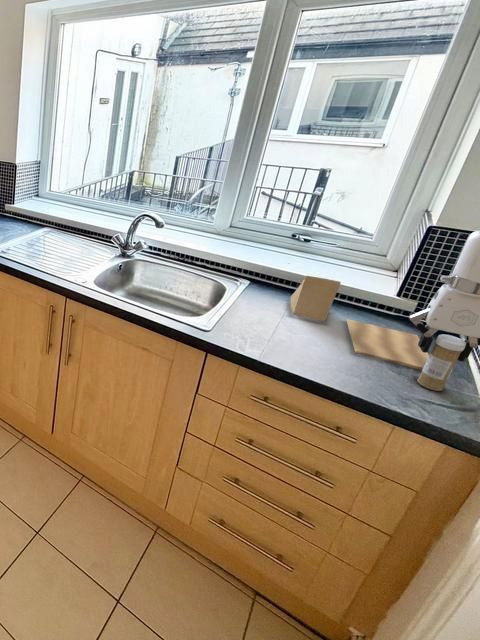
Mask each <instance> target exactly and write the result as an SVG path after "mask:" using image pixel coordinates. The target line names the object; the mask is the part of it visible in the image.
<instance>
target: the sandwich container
mask: <svg viewBox="0 0 480 640" xmlns="http://www.w3.org/2000/svg"><path fill="white" fill-rule="evenodd" d="M341 284H342V283H341V281H339V280H333V279H329V278H325V277H318V276H312V275H306V276H305V277H304V279H303V280H302V281H301V283H300V284H299V285H298V286H297V288H296V290H294V292H293V293H292V294H291V295H290V308H291V311H292V315H296V316H299V317H303V318H304V317H305V318H307V319H308V318H309V319H313V320H318V321H321V322H326V319H327V317H328V315H329V312H330V310H331V307H332V305H333V303H334V300H335V298H336V296H337V294H338V291H339V288H340V286H341Z"/></svg>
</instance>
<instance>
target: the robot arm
mask: <svg viewBox="0 0 480 640" xmlns="http://www.w3.org/2000/svg"><path fill="white" fill-rule="evenodd" d="M439 281H440V282H444V283H446V284H442V285H441V286H440V288H439V289H438V290H437V291H436V292H435V293H434V295H433V296H432V298H431V300H430V302H429V303H428V305H427V306H426V309H423V310H420V311H418V312H416V313H413V314H411V315H409V316H408V319H409V321H410V322H411V323H412V324H413V325H414V326H415V327H416V328H417V329H418V330H419V331H420V333H421V336H420V337H419V339H420V340H419V343H418V346H419V347H420V349H421V350H422V352H424V353H426V352H427V353H429V350H430V348H431V345H432V344H433V341H434V338H433V336H434V334H436V333H437V332H438V331H443V332H447V333H452V334H456V335H461V336H465V339H464V341H465V342H466V346H465V348H464V350H463V351H462V352H461V353H460V355H459V357H458V359H457V361H459V362H464V361H465V359H468V358H469V357H470V355H471V353H472V351H473V349H474V348H477V347H478V346H480V230H475V231H473V232H472V233H470V234H469V236H468V237H467V240H466V241H465V244H464V246H463V248H462V250H461V252H460V255H459V257H458V259H457V262H456V264H455V265H454V268H453V270H452V272H450V274H449V275H443V274H442V275H441V276H440V279H439ZM421 320H424V321H425V323H426V325H425V324H424V323H423V322H422V321H421Z"/></svg>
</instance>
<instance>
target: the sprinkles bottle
mask: <svg viewBox="0 0 480 640" xmlns="http://www.w3.org/2000/svg"><path fill="white" fill-rule="evenodd" d="M465 346H466V342H465V340H463V339H462V338H459V337H457V336H454V335H450V334H443V333H442V334H438V336H437V337H436V339H435V342H434V346H433V348H432V349H431V352H430V353H429V357H428V359H427V361H426V363H425V365H424V367H423V370H421V372H420V374H419V377H418V378H417V379H416V382H417V383H418V384H419V385H420V386H422V387H423V388H425V389H428V390H431V391H436V392H440V391H443V390H444V387H445V385H446V383H447V381H448V379H449V378H450V376H451V374H452V372H453V370H454V367H455V365H456V363H457V361H458V357H459V355H460V353H461V352H462V351H463V350H464V348H465Z"/></svg>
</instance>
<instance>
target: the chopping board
mask: <svg viewBox="0 0 480 640" xmlns="http://www.w3.org/2000/svg"><path fill="white" fill-rule="evenodd" d="M345 321H346V323H347V328H348V333H349V336H350V340H351V343H352V347H353V350H354V353H356V354H358V355H362V356H367V357H371V358H374V359H378V360H381V361H386V362H389V363H393V364H397V365H400V366H404V367H408V368H412V369H416V370H419V371H422V370H423V367H424V365H425V363H426V361H427V359H428V357H429V355H430V353H429V352H426V353H424V352H422V350H421V349H420V347H419V346H418V343H419V340H420V337H419V335H418V334H415V333H410V332H405V331H401V330H397V329H392V328H388V327H385V326H379V325H376V324H370V323H365V322H362V321H357V320H353V319H348V318H346V319H345Z"/></svg>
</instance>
